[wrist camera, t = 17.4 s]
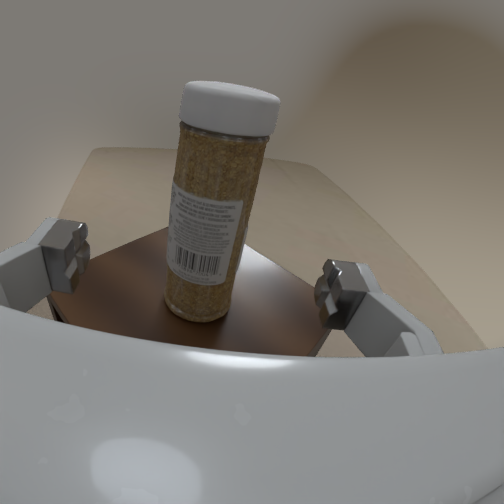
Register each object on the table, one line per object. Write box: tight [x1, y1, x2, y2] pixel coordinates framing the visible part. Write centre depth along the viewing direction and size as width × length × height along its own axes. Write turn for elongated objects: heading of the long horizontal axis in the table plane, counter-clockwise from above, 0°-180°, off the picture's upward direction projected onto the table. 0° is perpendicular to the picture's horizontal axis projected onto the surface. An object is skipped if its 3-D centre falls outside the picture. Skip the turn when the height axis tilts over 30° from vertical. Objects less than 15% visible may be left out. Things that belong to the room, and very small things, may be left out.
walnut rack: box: [47, 227, 332, 357], centre depth 23 cm, size 16×16×9 cm
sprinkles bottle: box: [164, 81, 280, 322], centre depth 16 cm, size 5×5×14 cm
